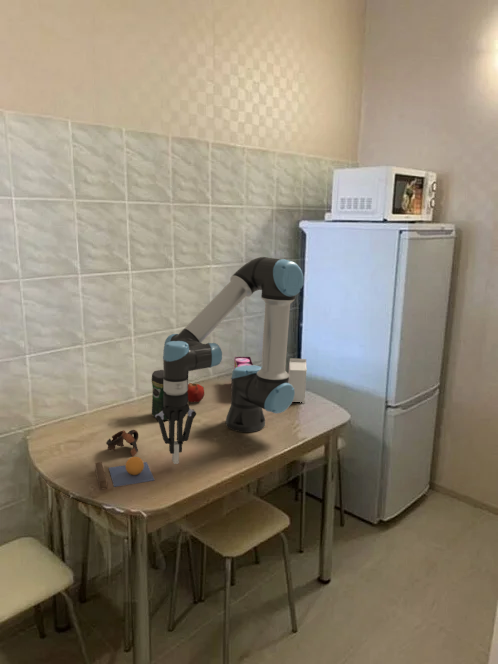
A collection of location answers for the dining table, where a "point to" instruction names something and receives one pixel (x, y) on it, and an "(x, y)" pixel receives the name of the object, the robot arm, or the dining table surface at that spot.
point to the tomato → (195, 392)
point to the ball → (134, 465)
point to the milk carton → (298, 378)
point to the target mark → (129, 475)
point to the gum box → (242, 361)
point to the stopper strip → (101, 475)
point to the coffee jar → (158, 392)
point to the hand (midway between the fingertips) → (175, 461)
